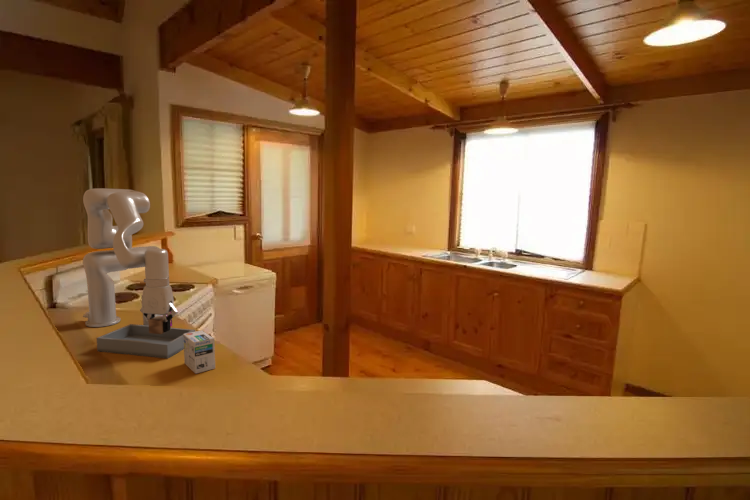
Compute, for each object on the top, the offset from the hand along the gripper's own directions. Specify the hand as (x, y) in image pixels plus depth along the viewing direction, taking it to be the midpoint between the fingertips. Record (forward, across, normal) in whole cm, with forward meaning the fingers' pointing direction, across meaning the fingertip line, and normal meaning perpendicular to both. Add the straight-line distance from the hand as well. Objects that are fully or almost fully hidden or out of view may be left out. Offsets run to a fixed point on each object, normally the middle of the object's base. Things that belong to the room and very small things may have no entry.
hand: (159, 330), depth 145 cm
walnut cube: (+1, 0, 0) cm, 1 cm away
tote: (+7, -5, 0) cm, 9 cm away
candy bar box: (+7, -14, +17) cm, 23 cm away
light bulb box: (+7, +23, -11) cm, 26 cm away
